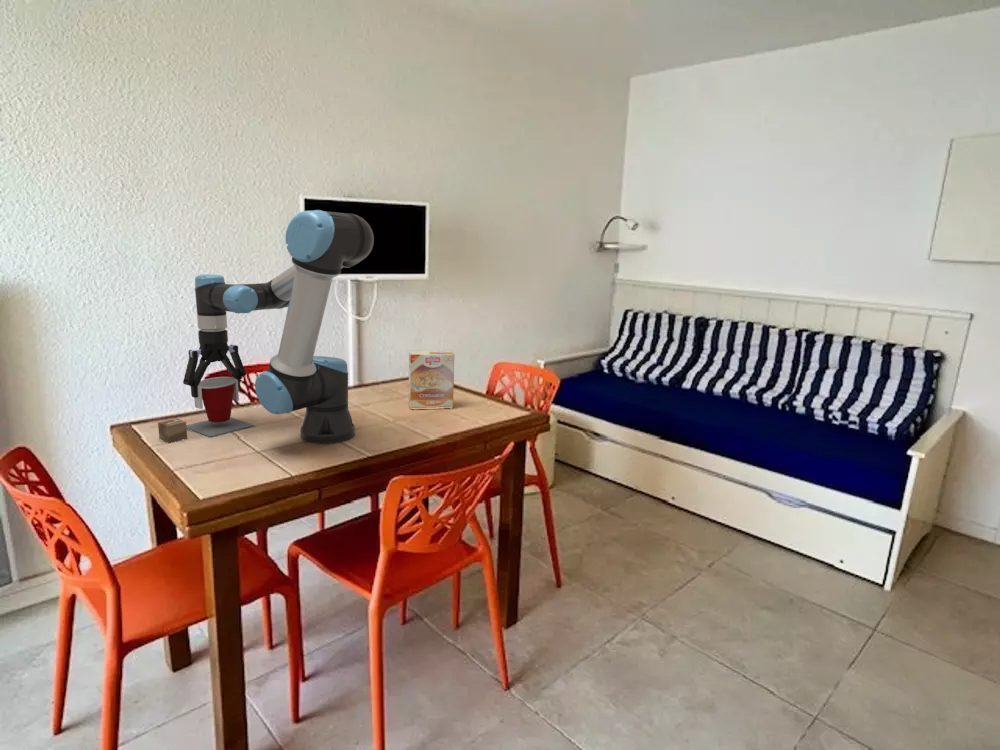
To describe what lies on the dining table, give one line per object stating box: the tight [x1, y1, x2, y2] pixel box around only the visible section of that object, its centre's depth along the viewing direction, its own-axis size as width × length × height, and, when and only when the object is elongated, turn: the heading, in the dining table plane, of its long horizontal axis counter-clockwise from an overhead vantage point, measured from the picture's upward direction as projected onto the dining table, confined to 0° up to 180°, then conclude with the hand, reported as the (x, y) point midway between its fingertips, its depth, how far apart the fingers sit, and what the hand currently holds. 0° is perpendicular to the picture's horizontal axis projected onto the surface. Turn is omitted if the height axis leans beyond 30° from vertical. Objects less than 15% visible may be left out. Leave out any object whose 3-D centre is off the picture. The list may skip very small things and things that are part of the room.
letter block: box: [157, 417, 188, 444], centre depth 162 cm, size 5×5×5 cm
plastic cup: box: [198, 376, 236, 422], centre depth 173 cm, size 11×11×12 cm
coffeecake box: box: [408, 350, 455, 410], centre depth 203 cm, size 15×7×20 cm, turn 104°
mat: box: [186, 416, 255, 438], centre depth 174 cm, size 14×14×1 cm
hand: (217, 403), depth 173 cm, fingers closed on plastic cup, 11 cm apart
